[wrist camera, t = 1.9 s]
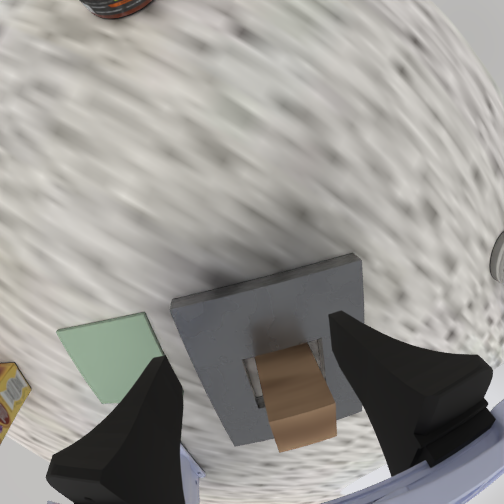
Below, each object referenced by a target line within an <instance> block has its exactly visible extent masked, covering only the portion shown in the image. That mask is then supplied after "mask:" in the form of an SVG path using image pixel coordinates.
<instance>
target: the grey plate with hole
mask: <svg viewBox="0 0 504 504" xmlns="http://www.w3.org/2000/svg"><path fill="white" fill-rule="evenodd" d="M341 310H342V311H343V312H345V313H347V314H349V315H350V316H352V317H354V318H355V319H357V320H359V321H360V322H362V323H364V294H363V275H362V260H361V259H360V258H359V257H357V256H356V255H355V254H353V253H351V254H348V255H344V256H340V257H337V258H333V259H330V260H326V261H322V262H319V263H315V264H311V265H308V266H304V267H300V268H296V269H293V270H289V271H285V272H281V273H277V274H273V275H270V276H266V277H262V278H258V279H254V280H250V281H246V282H242V283H238V284H234V285H230V286H226V287H222V288H218V289H214V290H210V291H206V292H202V293H198V294H193V295H189V296H185V297H181V298H177V299H172V302H171V306H170V312H171V314H172V317H173V319H174V322H175V324H176V326H177V329H178V331H179V334H180V336H181V338H182V341H183V343H184V345H185V347H186V350H187V352H188V354H189V356H190V359H191V361H192V363H193V365H194V367H195V370H196V372H197V374H198V376H199V378H200V380H201V382H202V384H203V387H204V389H205V391H206V393H207V395H208V397H209V399H210V401H211V403H212V405H213V407H214V409H215V411H216V413H217V415H218V416H219V418H220V420H221V422H222V424H223V426H224V428H225V430H226V432H227V433H228V435H229V437H230V439H231V441H232V442H233V444H234V446H240V445H245V444H250V443H255V442H260V441H265V440H269V439H273V438H274V436H273V433H272V430H271V427H270V424H269V420H268V416H267V411H266V407H265V402H264V398H263V396H261V397H257V398H256V396H255V393H254V390H253V387H252V384H251V381H250V378H249V375H248V372H247V369H246V366H245V363H244V360H243V359H246V358H251V357H255V356H259V355H263V354H267V353H270V352H274V351H278V350H282V349H285V348H289V347H293V346H296V345H300V344H303V343H306V342H310V341H313V340H316V339H318V347H319V356H320V364H321V373H322V375H323V377H324V379H325V381H326V383H327V386H328V388H329V390H330V392H331V394H332V396H333V398H334V401H335V403H336V420H339V419H341V418H344V417H347V416H350V415H353V414H355V413H358V412H360V411H362V403H361V401H360V400H359V398H358V397H357V395H356V393H355V392H354V390H353V388H352V387H351V385H350V384H349V382H348V380H347V379H346V377H345V375H344V374H343V372H342V371H341V369H340V367H339V365H338V363H337V360H336V358H335V356H334V354H333V351H332V346H331V336H330V326H329V317H328V314H331V313H334V312H337V311H341Z"/></svg>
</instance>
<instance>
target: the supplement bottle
mask: <svg viewBox="0 0 504 504" xmlns="http://www.w3.org/2000/svg"><path fill="white" fill-rule="evenodd" d="M80 1H81V2H82V3H83V4H84V6H85V7H86V8H87V9H88V10H89V11H91V12H92V13H93V14H94V15H96V16H98V17H101V18H119V17H123V16H127V15H130V14H132V13H134V12H136V11H138V10H140V9H142V8H143V7H144V6H146V5H147V4H149V3H150V2H151V1H152V0H80Z"/></svg>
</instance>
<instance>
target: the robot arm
mask: <svg viewBox="0 0 504 504" xmlns="http://www.w3.org/2000/svg"><path fill="white" fill-rule="evenodd" d="M328 317H329V326H330V336H331V346H332V351H333V354H334V356H335V358H336V360H337V363H338V365H339V367H340V369H341V371H342V372H343V374H344V375H345V377H346V379H347V380H348V382H349V384H350V385H351V387H352V388H353V390H354V392H355V393H356V395H357V397H358V398H359V400H360V401H361V403H362V405H363V407H364V409H365V411H366V413H367V415H368V417H369V419H370V422H371V424H372V426H373V428H374V431H375V433H376V436H377V438H378V440H379V443H380V446H381V448H382V451H383V453H384V456H385V459H386V462H387V464H388V467H389V470H390V473H391V476H392V477H391V478H389V479H386V480H384V481H382V482H379V483H377V484H375V485H372V486H370V487H367V488H365V489H362V490H360V491H357V492H354V493H352V494H349V495H346V496H343V497H340V498H337V499H334V500H331V501H328V502H324V503H321V504H465V503H466V502H468V501H469V500H470V499H472V498H473V497H475V496H476V495H477V494H479V493H480V492H481V491H482V490H484V489H485V488H486V487H488V486H489V485H490V484H491V483H493V482H494V481H495V480H496V479H497V478H499V477H500V476H501V475H502V474H503V473H504V399H503V400H502V401H501V402H499V403H498V404H497V405H496V406H495V407H494V408H493V409H492V410H491V412H490V411H489V410H488V409H487V408H486V407H487V405H488V402H487V401H486V400H485V399H484V396H485V394H486V392H487V389H488V387H489V385H490V382H491V380H492V376H493V370H492V368H491V367H490V366H489V365H488V364H487V363H486V362H485V361H484V360H483V359H482V358H481V357H480V356H479V355H468V354H452V353H444V352H438V351H432V350H428V349H424V348H420V347H416V346H413V345H410V344H407V343H404V342H401V341H399V340H396V339H394V338H391V337H389V336H387V335H385V334H383V333H381V332H379V331H377V330H375V329H373V328H371V327H369V326H367V325H365V324H364V323H362V322H360V321H359V320H357V319H355V318H354V317H352V316H350V315H349V314H347V313H345V312H343V311H342V310H341V311H337V312H334V313H331V314H328ZM182 417H183V390H182V386H181V384H180V382H179V380H178V378H177V376H176V374H175V373H174V371H173V369H172V367H171V365H170V363H169V361H168V359H167V357H166V355H165V356H159V357H154V358H152V360H151V361H150V362H149V364H148V365H147V367H146V368H145V369H144V371H143V372H142V374H141V375H140V377H139V378H138V379H137V381H136V382H135V384H134V385H133V386H132V388H131V389H130V390H129V392H128V393H127V394H126V395H125V397H124V398H123V399H122V400H121V402H120V403H119V404H118V405H117V406H116V408H115V409H114V410H113V411H112V412H111V413H110V414H109V415H108V416H107V417H106V418H105V419H104V420H103V421H102V422H101V423H100V424H98V425H97V426H96V427H95V428H94V429H93V430H91V431H90V432H89V433H88V434H86V435H85V436H84V437H82V438H81V439H80V440H78V441H77V442H75V443H74V444H72V445H70V446H69V447H67V448H65V449H63V450H61V451H60V452H58V453H56V454H54V455H53V456H52V459H51V462H50V465H49V468H48V472H47V475H46V479H47V481H48V483H49V484H50V485H51V486H52V487H53V488H54V489H56V490H57V491H58V492H59V493H61V494H62V495H64V496H65V497H67V498H68V499H69V500H71V501H73V502H74V504H200V498H199V478H201V477H205V476H206V474H205V473H204V471H203V470H202V469H201V468H200V467H199V465H198V464H197V463H196V462H195V461H194V459H193V458H192V457H191V456H190V454H189V453H188V452H187V451H186V449H185V448H184V447H183V445H182V444H181V443H180V442H181V429H182ZM47 504H59V503H55V502H51V501H47Z"/></svg>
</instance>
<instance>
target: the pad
mask: <svg viewBox="0 0 504 504" xmlns="http://www.w3.org/2000/svg"><path fill="white" fill-rule="evenodd" d="M56 333H57V335H58V337H59V339H60V340H61V342H62V344H63V346H64V347H65V349H66V351H67V352H68V354H69V356H70V357H71V359H72V360H73V362H74V364H75V365H76V367H77V368H78V370H79V371H80V373H81V375H82V376H83V378H84V379H85V380H86V382H87V383H88V385H89V386H90V388H91V389H92V391H93V392H94V393H95V395H96V396H97V398H98V399H99V400H100V402H101V403H102V404H107V403H120V402H121V400H122V399H123V398H124V397H125V395H126V394H127V393H128V392H129V390H130V389H131V388H132V386H133V385H134V384H135V382H136V381H137V379H138V378H139V377H140V375H141V374H142V372H143V371H144V369H145V368H146V367H147V365H148V364H149V362H150V361H151V360H152V358H154V357H159V356H165V355H164V353H163V351H162V349H161V347H160V345H159V343H158V341H157V339H156V337H155V334H154V332H153V330H152V328H151V326H150V323H149V321H148V319H147V317H146V314H145V312H142V313H138V314H133V315H128V316H124V317H119V318H114V319H109V320H105V321H100V322H95V323H90V324H85V325H80V326H75V327H70V328H64V329H59V330H57V331H56ZM183 393H184V392H183Z"/></svg>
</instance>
